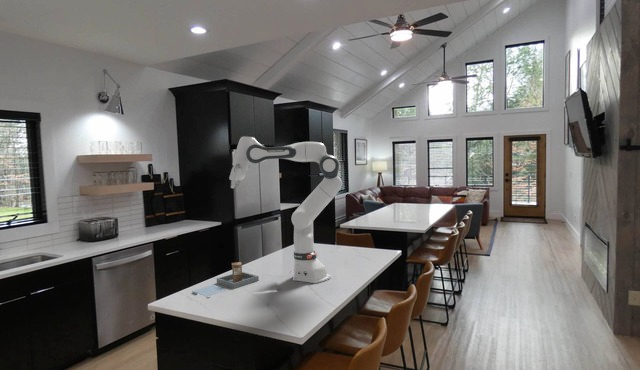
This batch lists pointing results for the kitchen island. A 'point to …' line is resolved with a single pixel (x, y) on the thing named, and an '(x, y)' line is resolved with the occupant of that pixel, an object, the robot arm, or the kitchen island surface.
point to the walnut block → (237, 272)
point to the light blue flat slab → (209, 290)
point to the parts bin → (246, 280)
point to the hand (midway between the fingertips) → (234, 187)
